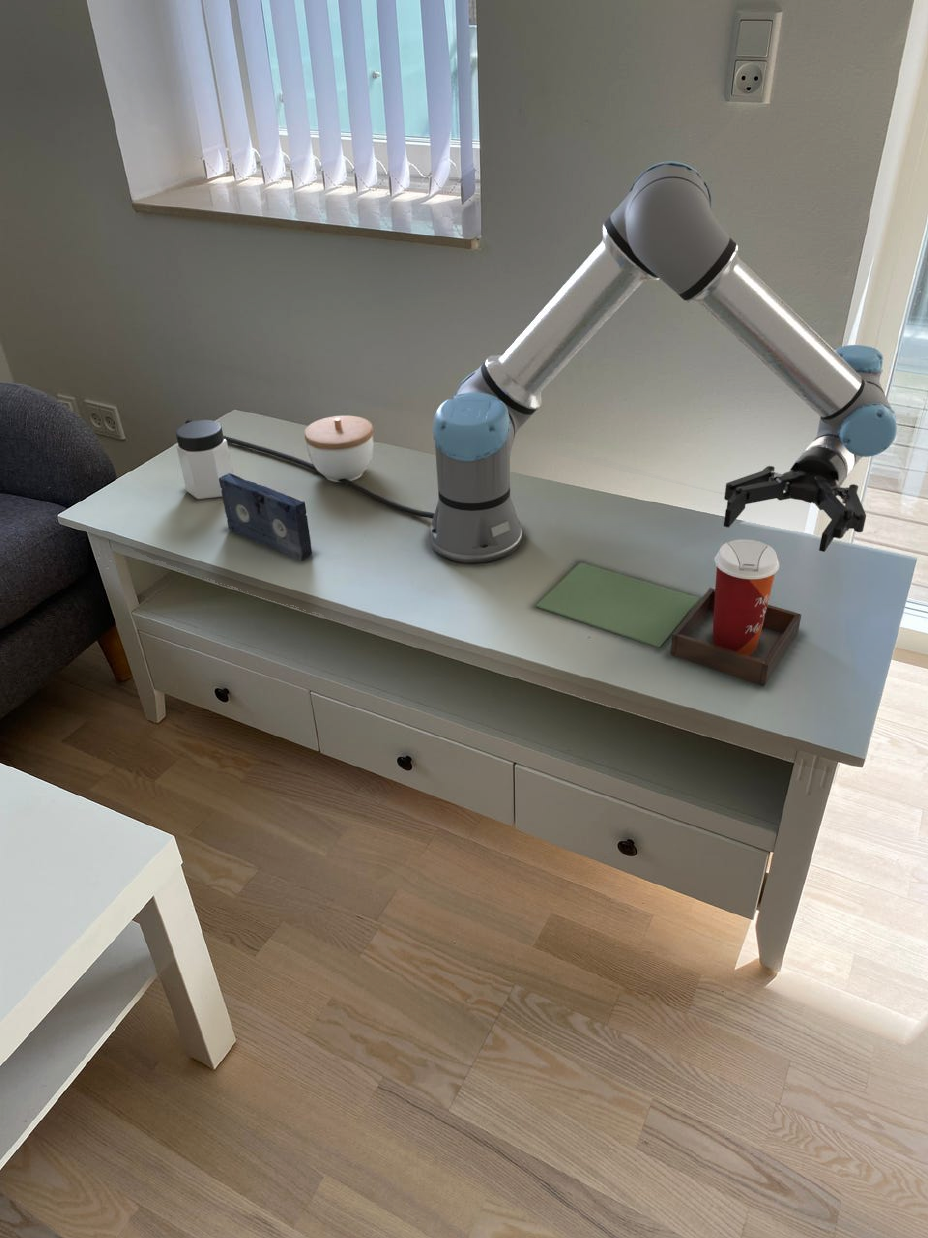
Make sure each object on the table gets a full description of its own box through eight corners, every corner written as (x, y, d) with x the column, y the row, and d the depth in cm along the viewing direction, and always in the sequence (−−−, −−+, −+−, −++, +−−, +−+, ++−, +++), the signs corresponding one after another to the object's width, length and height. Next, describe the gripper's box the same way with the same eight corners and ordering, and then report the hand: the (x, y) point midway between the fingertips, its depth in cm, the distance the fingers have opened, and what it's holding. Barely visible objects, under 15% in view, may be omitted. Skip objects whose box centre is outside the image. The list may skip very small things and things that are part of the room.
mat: (535, 607, 145) (535, 605, 145) (580, 563, 155) (580, 562, 155) (659, 648, 136) (660, 646, 136) (699, 599, 145) (699, 597, 145)
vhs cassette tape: (314, 554, 160) (305, 501, 155) (300, 562, 158) (291, 508, 153) (241, 522, 170) (231, 471, 164) (228, 529, 168) (217, 478, 163)
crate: (669, 654, 135) (671, 634, 133) (707, 607, 144) (710, 587, 141) (764, 686, 128) (768, 665, 126) (797, 634, 137) (801, 614, 135)
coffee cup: (766, 665, 132) (782, 572, 123) (704, 660, 133) (715, 567, 125) (763, 629, 138) (779, 538, 130) (704, 624, 140) (715, 534, 131)
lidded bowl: (318, 458, 190) (311, 405, 183) (382, 459, 188) (377, 405, 182) (303, 489, 180) (295, 433, 173) (370, 489, 178) (364, 433, 172)
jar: (236, 476, 185) (224, 417, 178) (234, 496, 178) (222, 435, 171) (188, 481, 184) (174, 422, 177) (185, 501, 177) (171, 440, 170)
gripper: (901, 510, 146) (860, 577, 132) (740, 473, 158) (687, 531, 143) (912, 464, 141) (871, 528, 127) (745, 430, 153) (691, 486, 139)
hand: (773, 530), depth 135 cm, fingers open, 13 cm apart
